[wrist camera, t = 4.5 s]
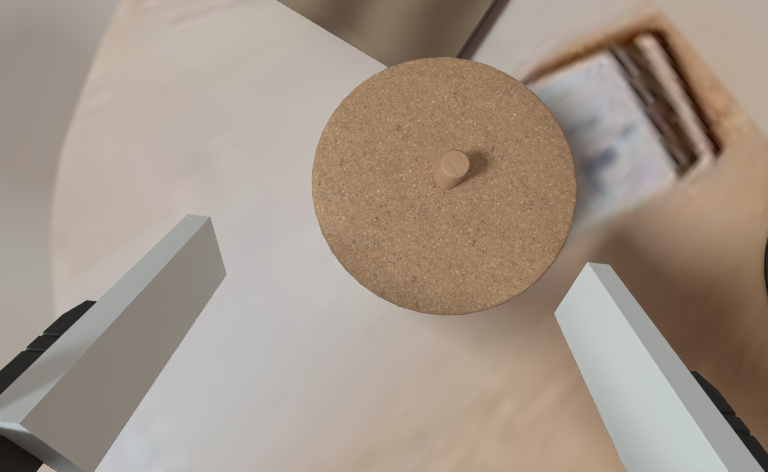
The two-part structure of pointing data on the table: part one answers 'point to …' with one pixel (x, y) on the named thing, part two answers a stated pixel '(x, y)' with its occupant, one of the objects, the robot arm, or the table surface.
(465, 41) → the brown metal plate
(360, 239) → the lidded jar
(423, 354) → the table surface
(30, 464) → the robot arm
